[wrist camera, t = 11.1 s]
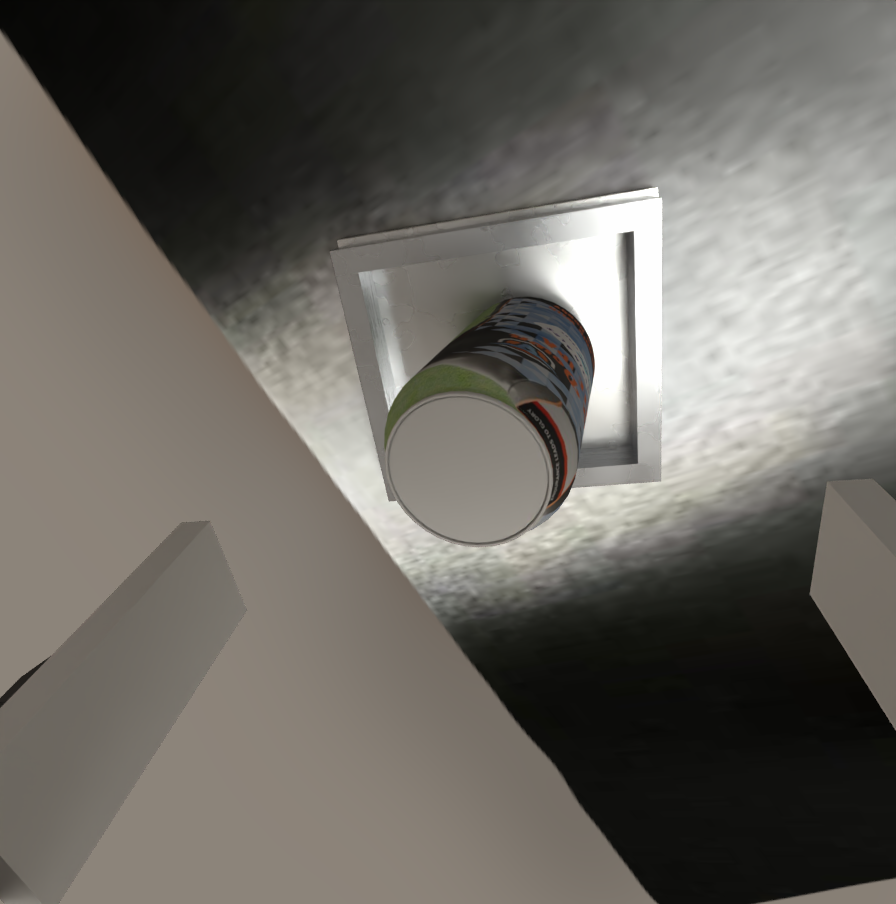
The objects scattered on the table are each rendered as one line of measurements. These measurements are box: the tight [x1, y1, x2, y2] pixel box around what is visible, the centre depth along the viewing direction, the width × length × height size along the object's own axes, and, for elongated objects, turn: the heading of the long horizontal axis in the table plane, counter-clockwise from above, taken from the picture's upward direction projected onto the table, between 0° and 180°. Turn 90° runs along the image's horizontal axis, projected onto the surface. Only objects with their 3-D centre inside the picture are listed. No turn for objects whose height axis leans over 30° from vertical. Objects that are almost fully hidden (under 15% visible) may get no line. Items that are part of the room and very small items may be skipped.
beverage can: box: [384, 297, 595, 547], centre depth 21 cm, size 6×7×12 cm
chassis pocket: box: [330, 187, 662, 501], centre depth 25 cm, size 12×14×4 cm
